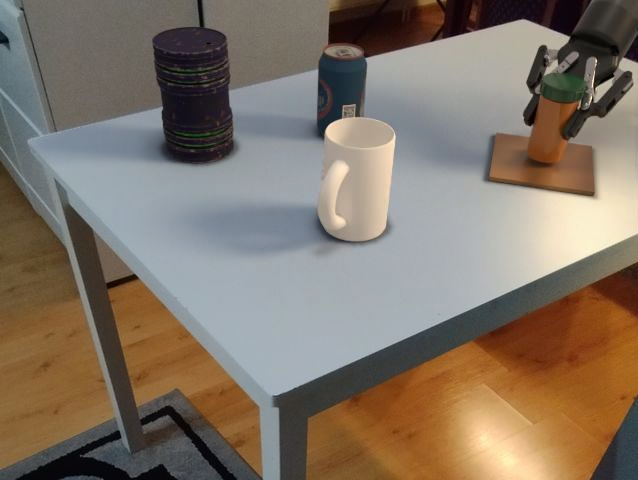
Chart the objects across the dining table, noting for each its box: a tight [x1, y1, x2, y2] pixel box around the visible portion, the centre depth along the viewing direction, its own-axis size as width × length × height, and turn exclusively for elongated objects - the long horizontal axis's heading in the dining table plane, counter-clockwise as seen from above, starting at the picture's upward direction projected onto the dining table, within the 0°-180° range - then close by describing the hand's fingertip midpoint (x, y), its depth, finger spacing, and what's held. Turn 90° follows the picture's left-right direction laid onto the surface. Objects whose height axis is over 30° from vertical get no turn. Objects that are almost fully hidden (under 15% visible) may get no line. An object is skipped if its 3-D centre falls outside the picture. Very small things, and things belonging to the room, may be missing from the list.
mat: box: [487, 132, 596, 197], centre depth 97 cm, size 14×14×1 cm
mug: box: [317, 117, 396, 242], centre depth 79 cm, size 8×12×12 cm
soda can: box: [316, 42, 368, 137], centre depth 99 cm, size 7×7×12 cm
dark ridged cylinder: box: [151, 26, 235, 164], centre depth 93 cm, size 10×10×15 cm
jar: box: [526, 94, 581, 163], centre depth 93 cm, size 5×5×10 cm
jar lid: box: [539, 72, 587, 103], centre depth 90 cm, size 6×6×2 cm
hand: (545, 130), depth 93 cm, fingers closed on jar, 5 cm apart
